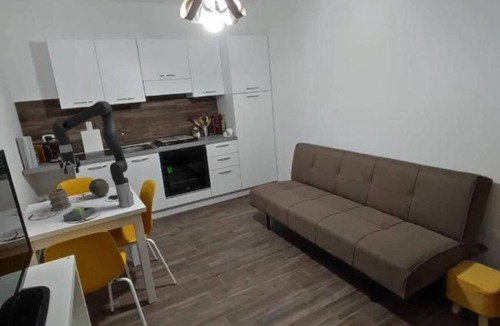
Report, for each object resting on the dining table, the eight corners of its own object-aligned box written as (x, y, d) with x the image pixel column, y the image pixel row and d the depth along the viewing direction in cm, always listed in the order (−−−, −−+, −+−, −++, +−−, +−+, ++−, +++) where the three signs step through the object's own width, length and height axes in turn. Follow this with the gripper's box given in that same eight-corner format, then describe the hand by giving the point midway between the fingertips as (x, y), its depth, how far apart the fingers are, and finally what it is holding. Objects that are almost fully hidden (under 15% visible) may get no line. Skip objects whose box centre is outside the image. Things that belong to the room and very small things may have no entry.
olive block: (85, 214, 209) (83, 206, 208) (80, 217, 204) (78, 208, 203) (78, 214, 210) (76, 206, 208) (73, 217, 205) (71, 209, 204)
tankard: (68, 209, 225) (63, 190, 222) (49, 212, 222) (44, 193, 218) (74, 200, 244) (70, 183, 240) (57, 203, 240) (52, 186, 237)
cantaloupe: (107, 192, 258) (103, 175, 254) (112, 195, 248) (108, 177, 244) (89, 197, 249) (85, 180, 245) (94, 200, 239) (90, 182, 235)
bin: (94, 212, 213) (93, 207, 212) (82, 220, 200) (80, 214, 199) (77, 213, 215) (76, 207, 214) (64, 221, 202) (62, 215, 201)
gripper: (79, 149, 211) (84, 171, 215) (61, 150, 213) (66, 172, 217) (72, 151, 204) (77, 174, 208) (53, 153, 206) (59, 175, 210)
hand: (72, 173), depth 212 cm, fingers open, 8 cm apart
